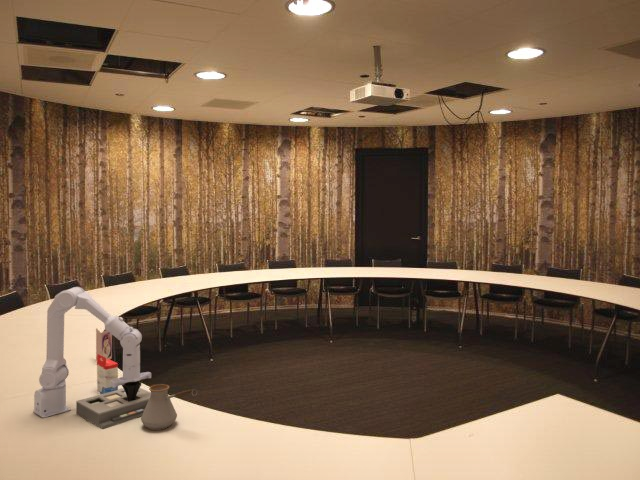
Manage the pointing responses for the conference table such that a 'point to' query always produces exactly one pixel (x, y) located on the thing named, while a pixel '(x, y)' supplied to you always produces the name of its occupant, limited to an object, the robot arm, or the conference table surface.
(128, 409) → the grey sorting tray
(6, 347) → the conference table surface
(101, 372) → the ink box
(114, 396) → the key sand
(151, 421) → the coffee pot
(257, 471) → the conference table surface
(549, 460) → the conference table surface
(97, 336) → the open printed carton
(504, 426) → the conference table surface
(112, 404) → the key cream
